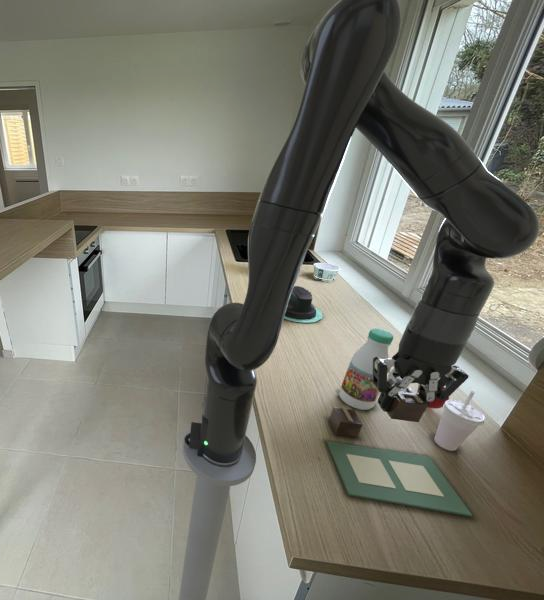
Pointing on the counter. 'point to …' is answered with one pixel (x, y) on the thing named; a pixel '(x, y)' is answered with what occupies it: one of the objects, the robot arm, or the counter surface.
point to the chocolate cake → (302, 307)
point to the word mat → (395, 478)
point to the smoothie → (457, 423)
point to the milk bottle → (365, 371)
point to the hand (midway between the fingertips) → (398, 410)
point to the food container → (325, 271)
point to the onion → (437, 402)
